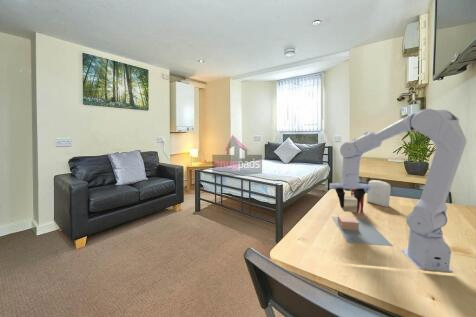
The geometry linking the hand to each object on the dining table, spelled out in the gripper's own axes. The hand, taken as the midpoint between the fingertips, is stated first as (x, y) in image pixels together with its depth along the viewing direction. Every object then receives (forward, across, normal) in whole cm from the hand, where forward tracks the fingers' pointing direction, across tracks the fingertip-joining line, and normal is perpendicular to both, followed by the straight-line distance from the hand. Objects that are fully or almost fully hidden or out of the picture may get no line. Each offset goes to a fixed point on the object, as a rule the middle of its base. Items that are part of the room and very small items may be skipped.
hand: (348, 207), depth 82 cm
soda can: (+9, -9, -17) cm, 21 cm away
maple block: (+1, 0, 0) cm, 1 cm away
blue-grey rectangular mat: (+8, -3, +2) cm, 9 cm away
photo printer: (+9, -24, -31) cm, 40 cm away
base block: (+8, 0, 0) cm, 8 cm away
